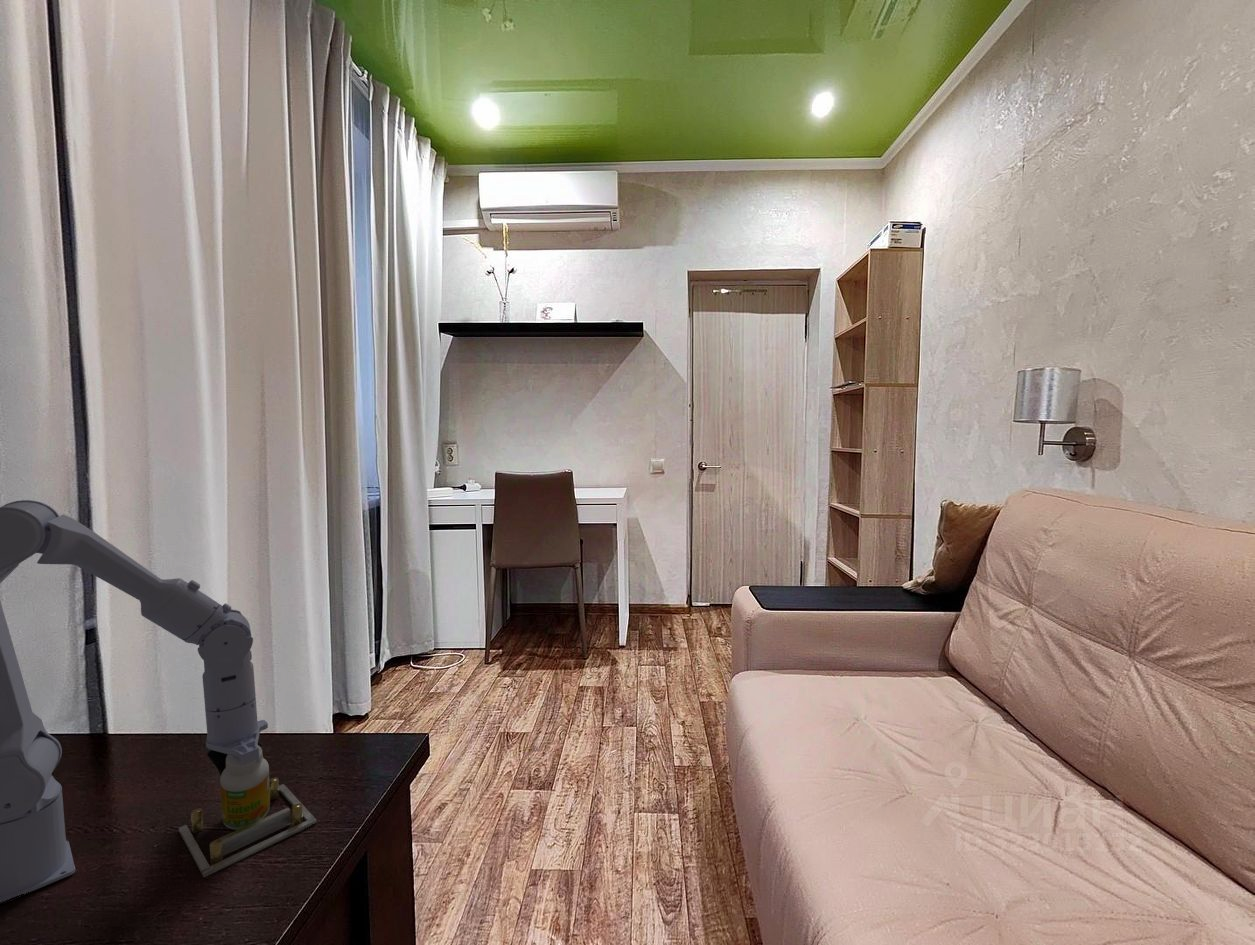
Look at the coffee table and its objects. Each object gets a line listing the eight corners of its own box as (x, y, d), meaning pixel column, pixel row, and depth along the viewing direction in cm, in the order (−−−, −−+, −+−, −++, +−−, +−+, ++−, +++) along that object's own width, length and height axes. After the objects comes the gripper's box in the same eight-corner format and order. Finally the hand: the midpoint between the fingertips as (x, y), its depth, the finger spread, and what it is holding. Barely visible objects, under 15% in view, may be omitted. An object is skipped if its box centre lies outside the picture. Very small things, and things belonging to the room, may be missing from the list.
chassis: (203, 877, 68) (202, 857, 67) (179, 831, 76) (177, 813, 75) (316, 823, 77) (315, 805, 77) (283, 787, 85) (282, 770, 85)
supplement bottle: (221, 837, 74) (217, 775, 72) (223, 805, 79) (219, 746, 76) (270, 822, 77) (268, 763, 75) (269, 792, 82) (268, 735, 79)
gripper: (282, 706, 77) (289, 803, 78) (247, 677, 87) (254, 764, 88) (219, 728, 72) (227, 831, 73) (190, 694, 81) (198, 786, 82)
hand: (238, 796), depth 80 cm, fingers closed
